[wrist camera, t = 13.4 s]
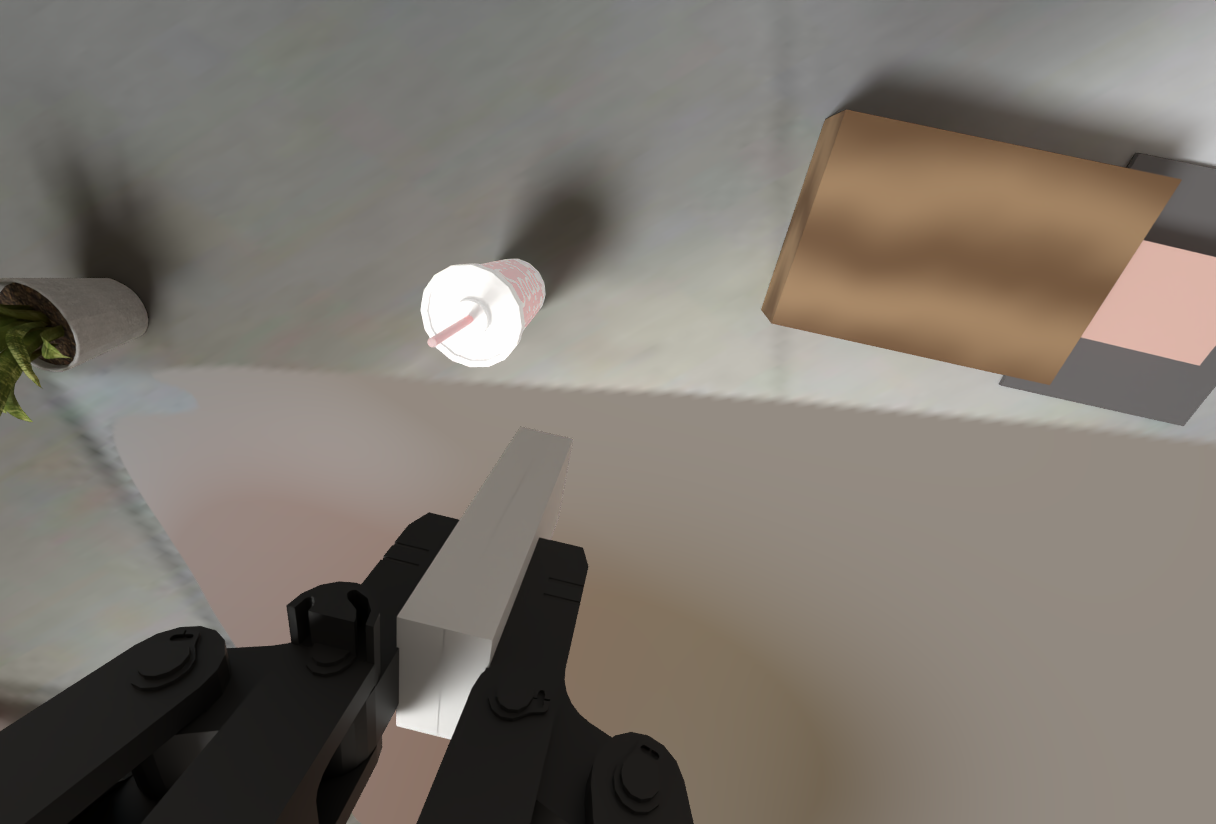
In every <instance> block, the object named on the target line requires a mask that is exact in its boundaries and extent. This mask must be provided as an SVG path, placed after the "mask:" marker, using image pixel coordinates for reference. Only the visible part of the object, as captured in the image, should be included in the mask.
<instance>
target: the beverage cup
mask: <svg viewBox="0 0 1216 824" xmlns="http://www.w3.org/2000/svg"><path fill="white" fill-rule="evenodd" d="M545 295H546V294H545V285H544V281H543V279H542V277H541V275H540V273H539V271H537V270H536V269H535V268H534V267H533V266H532V265H531V264H530V263H528V262H525V261H523V260H520V259H504V260H499V261H494V262H489V263H484V264H457V265H452V266H450V267H448V268H446V269H445V270H443V271H441V272H439V273H437V274H435V275H434V277H433V278H432V279H431V281H430V282H429V284H428V285H427V287H426V288H425V290H424V293H423V299H422V304H421V314H422V318H423V323H424V328H425V330H426V332H427V334H428V335H429V337H430V338H429V339H428V345H429V346H430V347H436V348H437V349H439V350H440V351H441V352H442V353H444V354H445V355H446V356H447V357H448V358H450V359H451V360H453V361H455V362H458V363H461V364H463V365H466V366H469V367H489V366H491V365H494V364H496V363H498V362H500V361H502V360H505V359H506V358H507V357H508V355H509V354H510V353H511V352H512V351H513V349H514V348H515V347H516V346H517V345H518V343H519V342H520V340H521V336H522V332H523V330H524V329H525V328H526V327H527V325H528V324H529V323H530V321H531V320H532V319H533V318H534V316H535V315H536V314H537V312H538V311H539V310H540V309H541V307H542V306H543V302H544V299H545Z"/></svg>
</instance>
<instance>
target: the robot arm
mask: <svg viewBox="0 0 1216 824" xmlns="http://www.w3.org/2000/svg"><path fill="white" fill-rule="evenodd" d="M572 444H573V439H572V438H568V437H563V436H559V435H555V434H551V433H546V432H542V431H537V430H533V429H529V428H525V427H520V428H519V429H518V431H517V433H516V434H515V436H514V437H513V439H512V440H511V442H510V443H509V445H508V446H507V448H506V450H505V451H504V453H503V454H502V456H501V457H500V459H499V460H498V462H497V463H496V465H495V467H494V468H493V469H492V471H491V473H490V474H489V476H488V477H487V479H486V480H485V482H484V483H483V485H482V486H481V488H480V490H479V491H478V493H477V494H476V496H475V497H474V499H473V500H472V502H471V503H470V505H469V506H468V508H467V509H466V511H465V513H464V514H463V516H462V517H461V519H460V520H458V519H454V518H450V517H446V516H441V515H437V514H433V513H427V514H426V515H424V516H422V517H421V518H419V519H417V520H416V521H414V522H412V523H411V524H409V525H408V527H407V528H406V529H405V530H404V531H403V532H402V534H401V535H400V536H399V538H398V539H397V540H396V541H395V544H394V545H393V546H391V548H390V549H389V550H388V551H387V553H386V554H385V555H384V558H383V560H380V562H379V563H378V564H377V565H376V567H375V568H374V569H373V570H372V572H371V573H370V574H369V576H368V577H367V578H366V579H365V580H364V582H363V583H362V584H361V585H360V584H358V583H351V582H335V583H329V584H323V585H319V586H317V587H315V588H313V589H311V590H308V591H306V592H304V593H302V594H300V595H299V596H298V597H297V598H295V599H294V600H293V601H292V602H290V603H289V604H288V605H287V613H288V620H289V627H290V635H291V643H288V644H281V645H275V646H261V647H242V648H226V644H225V640H224V639H223V638H222V637H221V636H220V634H219V633H218V632H217V631H215V630H212V629H209V628H205V627H202V626H193V627H179V628H176V629H172V630H169V631H165V632H162V633H158V634H156V635H154V636H152V637H150V638H148V639H146V640H144V641H142V642H140V643H138V644H136V645H134V646H133V647H131V648H130V649H128V650H127V651H125V652H123V653H122V654H120V655H119V656H117V657H116V658H114V659H112V660H111V661H109V662H108V663H106V664H105V665H103V666H102V667H100V668H98V669H97V670H95V671H94V672H92V673H91V674H89V675H87V676H86V677H84V678H83V679H81V680H80V681H78V682H77V683H75V684H73V685H72V686H70V687H69V688H67V689H66V690H64V691H62V692H61V693H59V694H58V695H56V696H55V697H53V698H52V699H50V700H48V701H47V702H45V703H44V704H42V705H41V706H39V707H37V708H36V709H34V710H33V711H31V712H30V713H28V714H27V715H25V716H23V717H22V718H20V719H19V720H17V721H16V722H14V723H13V724H11V725H9V726H8V727H6V728H5V729H3V730H2V731H0V824H346V823H347V821H348V819H349V817H350V815H351V813H352V811H353V809H354V807H355V805H356V803H357V801H358V799H359V797H360V795H361V793H362V791H363V789H364V787H365V786H366V784H367V782H368V780H369V778H370V776H371V774H372V772H373V770H374V768H375V766H376V764H377V762H378V758H379V756H380V752H381V749H382V734H383V732H384V731H385V729H386V727H387V725H388V723H389V721H390V719H391V717H392V716H393V714H394V712H395V710H396V726H399V727H403V728H407V729H411V730H415V731H419V732H423V733H427V734H431V735H435V736H440V737H443V738H447V739H451V740H450V743H449V745H448V748H447V750H446V753H445V755H444V758H443V760H442V762H441V765H440V767H439V770H438V772H437V775H436V777H435V780H434V782H433V785H432V787H431V790H430V792H429V794H428V797H427V799H426V802H425V804H424V807H423V809H422V812H421V814H420V817H419V819H418V821H417V824H694V823H693V818H692V814H691V809H690V805H689V800H688V796H687V791H686V787H685V782H684V779H683V777H682V774H681V772H680V769H679V767H678V764H677V762H676V760H675V759H674V758H673V757H672V755H671V754H670V753H669V752H668V750H667V749H666V748H665V747H664V745H662V744H660V743H659V742H657V741H656V740H654V739H653V738H651V737H650V736H648V735H643V734H638V733H633V732H629V733H625V734H620V735H615V736H614V737H613V738H612V737H610V736H609V735H607V734H606V733H604V732H603V731H601V730H600V729H598V728H597V727H595V726H594V725H592V724H591V723H589V722H588V721H587V720H586V719H584V718H583V717H582V716H581V715H580V714H579V713H578V712H577V710H576V709H575V708H574V706H573V705H572V703H571V701H570V699H569V697H568V695H567V692H566V686H565V680H564V679H565V668H566V663H567V659H568V655H569V650H570V646H571V641H572V637H573V632H574V628H575V624H576V619H577V614H578V610H579V606H580V601H581V597H582V592H583V587H584V584H585V579H586V575H587V570H588V564H587V560H586V557H585V553H584V550H583V548H582V547H578V546H573V545H569V544H565V543H561V542H557V541H553V540H551V538H552V535H553V532H554V530H555V527H556V524H557V521H558V518H559V513H560V508H561V502H562V497H563V492H564V486H565V481H566V475H567V470H568V465H569V459H570V454H571V449H572Z"/></svg>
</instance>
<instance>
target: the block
mask: <svg viewBox="0 0 1216 824" xmlns="http://www.w3.org/2000/svg"><path fill="white" fill-rule="evenodd" d="M1081 337H1082V338H1086V339H1090V340H1094V341H1098V342H1102V343H1107V344H1111V345H1115V346H1119V347H1123V348H1127V349H1132V350H1136V351H1140V352H1144V353H1148V354H1153V355H1157V356H1161V357H1165V358H1169V359H1173V360H1178V361H1182V362H1186V363H1190V364H1194V365H1198V366H1200V364H1201V363H1202V362H1203V361H1204V359H1205V358H1206V357H1207V356H1208V354H1209V353H1210V352H1211V351H1212V349H1213V348H1214V347H1215V346H1216V257H1213V256H1209V255H1204V254H1200V253H1196V252H1192V251H1187V250H1183V249H1179V248H1175V247H1170V246H1166V245H1162V244H1158V243H1153V242H1149V241H1145V240H1143V241H1142V243H1141V244H1140V246H1139V248H1138V249H1137V251H1136V252H1135V254H1134V255H1133V257H1132V258H1131V260H1130V262H1129V263H1128V265H1127V266H1126V268H1125V269H1124V271H1123V272H1122V274H1121V275H1120V277H1119V279H1118V280H1117V282H1116V283H1115V285H1114V286H1113V288H1112V289H1111V291H1110V293H1109V294H1108V296H1107V297H1106V299H1105V300H1104V302H1103V303H1102V305H1101V307H1100V308H1099V310H1098V311H1097V313H1096V314H1095V316H1094V317H1093V319H1092V321H1091V322H1090V324H1089V325H1088V327H1087V328H1086V330H1085V331H1084V333H1083V334H1082V336H1081Z"/></svg>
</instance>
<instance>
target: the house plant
mask: <svg viewBox="0 0 1216 824" xmlns="http://www.w3.org/2000/svg"><path fill="white" fill-rule="evenodd" d="M147 327H148V316H147V312H146V309H145V307H144V305H143V303H142V302H141V300H140V299H139V297H138V296H137V295H136V294H135V293H134V292H133V291H132V290H131V289H130V288H128V287H127V286H125V285H124V284H122V283H120V282H118V281H115V280H113V279H110V278H2V279H0V352H1V353H0V416H1V413H2V412H4V413H6V411H7V412H8V413H10V414H11V415H12V416H14V417H16V418H18V419H21V420H25V421H29V422H32V420H31V419H30V418H29V417H28V416H27V415H26V414H25V413H24V411H23V410H22V409H21V407H20V406H19V404H18V402H17V400H16V398H15V395H14V387H15V383H16V381H17V380H18V378H19V377H20V376H21V373H22V371H24V373H25V374H26V375H27V376H28V377H29V378H30V379H31V380H32V381H33V382H34V383H36V384H37V385H38V386H39V387H41V386H40V382H39V379H38V378H37V376H36V375H35V373H34V372H33V370H32V366H31V365H33V366H35V367H37V368H39V369H43V370H47V371H50V372H63V371H66V370H69V369H71V368H74V367H76V366H78V365H80V364H82V363H84V362H86V361H89V360H91V359H93V358H95V357H97V356H99V355H101V354H104V353H106V352H108V351H110V350H112V349H114V348H116V347H119V346H121V345H123V344H125V343H127V342H129V341H131V340H134V339H136V338H138V337H140V336H142V335H143V334H144V333H145V332H146V330H147ZM4 349H5V350H4ZM41 388H42V387H41Z"/></svg>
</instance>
